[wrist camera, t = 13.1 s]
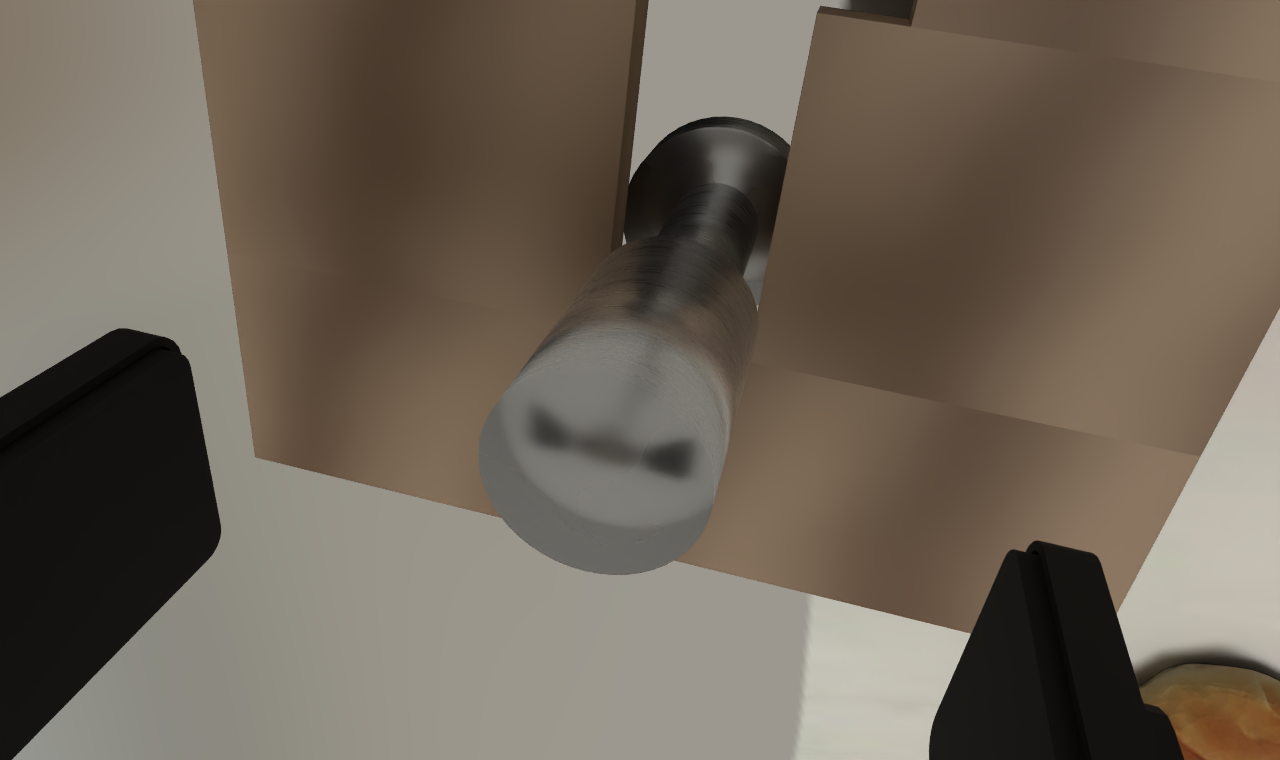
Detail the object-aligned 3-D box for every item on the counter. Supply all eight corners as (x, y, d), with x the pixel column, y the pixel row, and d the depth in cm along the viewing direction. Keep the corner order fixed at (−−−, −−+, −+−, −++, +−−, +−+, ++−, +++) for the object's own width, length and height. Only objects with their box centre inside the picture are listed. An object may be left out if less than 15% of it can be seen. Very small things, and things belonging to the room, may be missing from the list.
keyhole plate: (1603, -709, 12) (1993, -1030, 8) (1050, 521, 23) (1090, 662, 19) (288, -746, 15) (57, -996, 11) (356, 365, 26) (254, 457, 22)
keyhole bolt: (833, 134, 20) (793, 370, 10) (795, 308, 22) (729, 640, 12) (645, 102, 21) (434, 295, 11) (626, 274, 23) (437, 565, 13)
